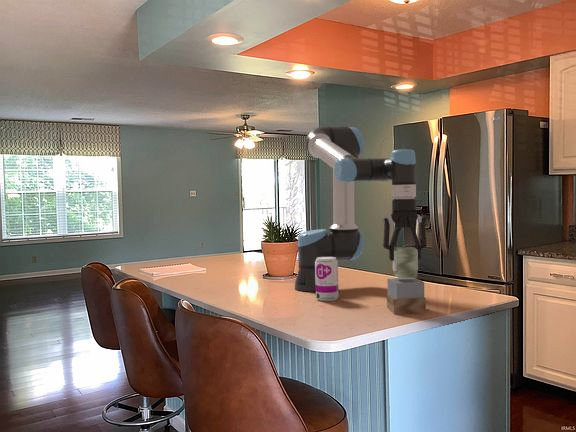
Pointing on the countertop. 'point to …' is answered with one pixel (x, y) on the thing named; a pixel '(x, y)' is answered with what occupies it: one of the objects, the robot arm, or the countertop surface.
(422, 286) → the block
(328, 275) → the supplement can
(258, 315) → the countertop surface
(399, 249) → the pillar block
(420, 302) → the tower base
